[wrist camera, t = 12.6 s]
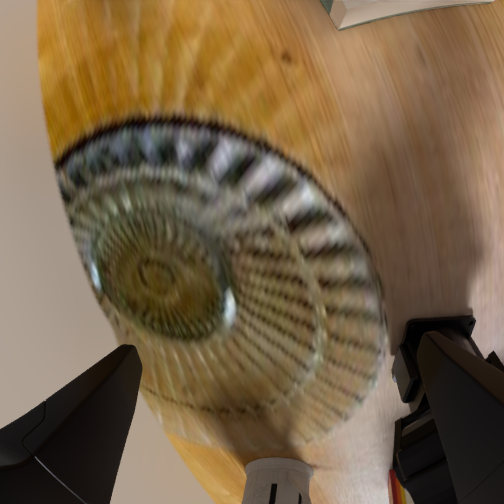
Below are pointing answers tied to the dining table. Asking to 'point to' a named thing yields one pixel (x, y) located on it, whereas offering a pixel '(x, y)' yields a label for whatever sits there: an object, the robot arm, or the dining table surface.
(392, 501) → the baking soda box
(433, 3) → the white shallow tray
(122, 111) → the dining table surface
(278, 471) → the grey pitcher
